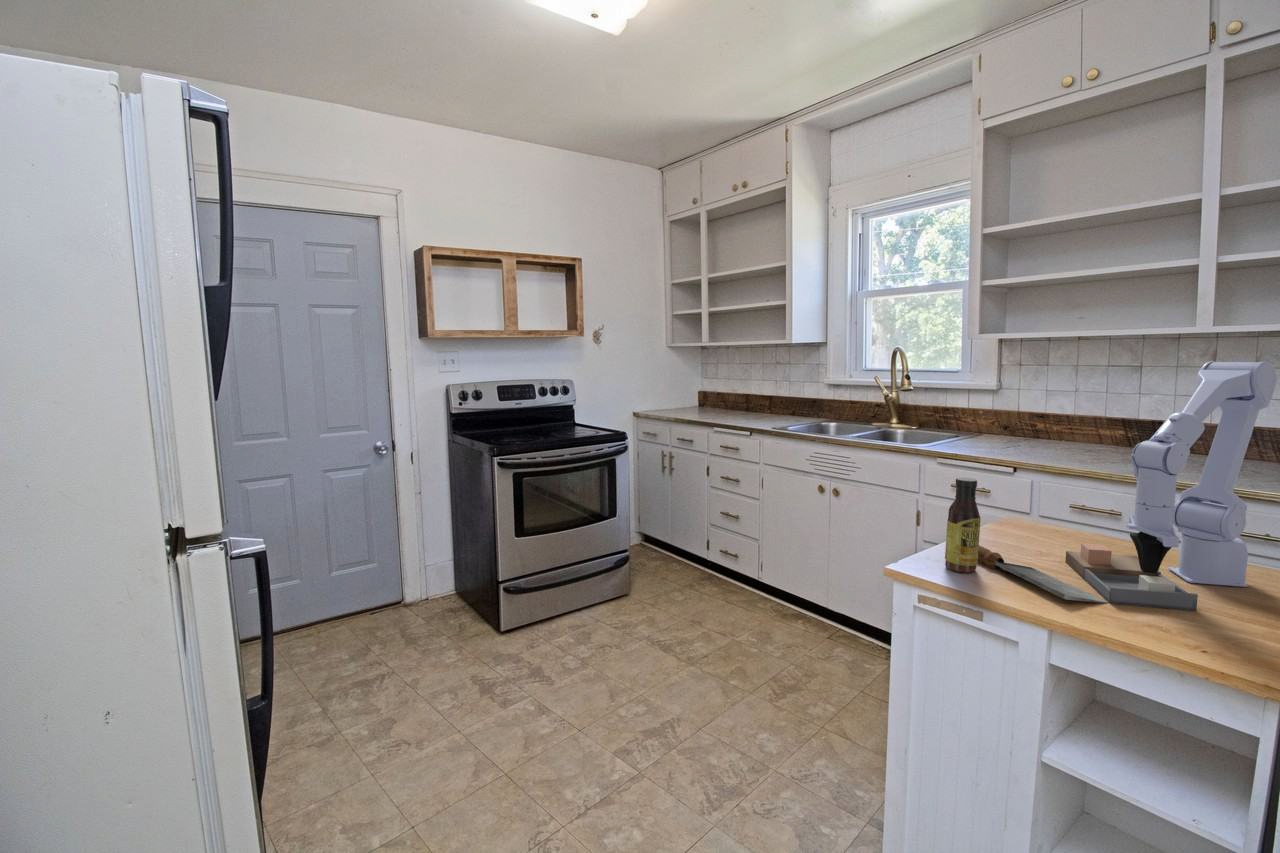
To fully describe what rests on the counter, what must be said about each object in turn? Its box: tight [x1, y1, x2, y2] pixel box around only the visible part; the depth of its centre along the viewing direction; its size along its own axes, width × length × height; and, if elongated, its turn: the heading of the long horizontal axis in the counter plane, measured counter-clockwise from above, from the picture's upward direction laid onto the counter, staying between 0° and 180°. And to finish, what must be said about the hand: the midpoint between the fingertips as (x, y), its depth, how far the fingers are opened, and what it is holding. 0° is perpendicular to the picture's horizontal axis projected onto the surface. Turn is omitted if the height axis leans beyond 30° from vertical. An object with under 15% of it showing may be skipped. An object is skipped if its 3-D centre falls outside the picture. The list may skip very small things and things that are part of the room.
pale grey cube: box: [1138, 575, 1176, 592], centre depth 113 cm, size 4×4×3 cm
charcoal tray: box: [1083, 569, 1199, 612], centre depth 115 cm, size 13×12×3 cm
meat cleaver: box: [977, 545, 1110, 604], centre depth 128 cm, size 34×11×4 cm, turn 8°
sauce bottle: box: [944, 477, 982, 574], centre depth 129 cm, size 6×6×20 cm
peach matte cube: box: [1080, 543, 1113, 565], centre depth 126 cm, size 4×4×3 cm
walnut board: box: [1064, 550, 1162, 580], centre depth 126 cm, size 13×10×2 cm
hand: (1148, 571), depth 117 cm, fingers closed
